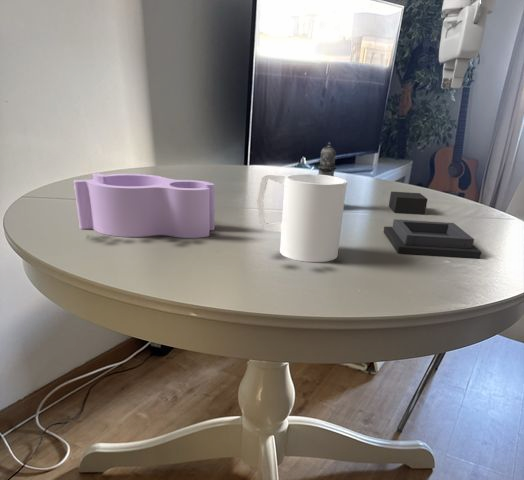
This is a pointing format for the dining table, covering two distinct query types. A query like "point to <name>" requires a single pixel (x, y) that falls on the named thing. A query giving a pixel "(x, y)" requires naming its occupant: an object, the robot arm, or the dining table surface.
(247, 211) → the dining table surface
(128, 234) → the purple hollow rounded tray
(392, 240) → the base pad
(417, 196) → the black pad
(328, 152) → the salt shaker
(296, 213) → the cup
